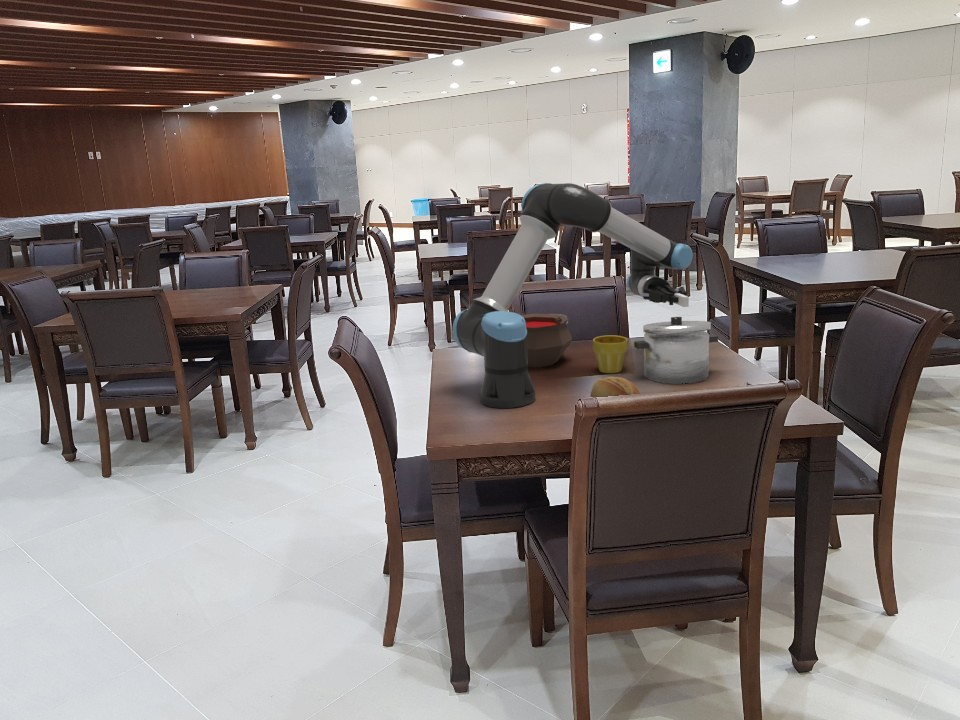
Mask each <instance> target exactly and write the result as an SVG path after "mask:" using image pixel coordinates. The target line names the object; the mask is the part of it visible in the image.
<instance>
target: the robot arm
mask: <svg viewBox="0 0 960 720" xmlns="http://www.w3.org/2000/svg"><path fill="white" fill-rule="evenodd" d="M520 206H521V209H520V210H521V215H520V217H519V221H520V224H521V225H520V227H519V229H518V231H517V232H516V234H515V236H514V238H513V240H512V241H511V243H510V245H509V246H508V249H507V251H506V252H505V254H504V256H503V258H502V259H501V261H500V263H499V265H498V266H497V268H496V269H495V272H494V273H493V275H492V278H491V279H490V281H489V282H488V284H487V287H486V288H485V290H484V291H483V293H482V295H481V296H480V297H476V298H474V299H473V300H472V302H471V304H470V305H469V307H468V308H466V309H464V310H462V311H460V312H459V313H458V314H457V315H456V316H455V318H454V320H453V323H452V335H453V339H454V341H455V343H456V344H457V345H458V346H459V347H460V348H462V349H464V350H465V351H467V352H468V353H473V354H476V355H479V356H481V357H483V362H484V377H483V379H482V382H481V387H480V391H479V402H480V403H481V404H482V405H484V406H486V407H490V408H495V409H497V408H499V409H513V408H518V407H519V408H520V407H524V406H527V405H530V404H532V403H534V402H535V400H536V397H537V396H536V389H535V387H534V384H533V380H532V379H531V376H530V373H529V369H528V368H529V367H528V358H527V329H526V322H525V319H524V318H523V317H522V316H521V315H522V314H519V313H516V312H514V313H513V312H509V310H510V309H511V306H512V305H513V303H514V301H515V299H516V297H517V296H518V294H519V291H521V289H522V286H524V283H525V281H526V279H527V277H528V276H529V274H530V272H531V270H532V269H533V266H534V265H535V263H536V262H537V260H538V257H539V256H540V254H541V252H542V250H543V248H544V247H545V245H546V243H547V241H549V240H551V239H555V237H557V235H558V233H559V231H560V229H561V227H575V228H580V229H583V230H587V231H589V232H591V233H598V232H599V233H600V234H602V235H604V236H606V237H608V238H610V239H612V240H613V241H616V242H617V243H620V244H621V245H623V246H625V247H627V248H628V249H629V250H630V274H629V275H628V277H627V279H626V285H627V288H628V290H629V291H630V292H632V293H633V294H634V295H635V296H639V297H641V298H642V299H643V300H648V301H649V302H652V303H655V304H659V303H663V304H666V303H667V302H668V305H669V306H673V305H674V304H675V305H678V306H681V307H683V308H687V307H688V308H689V302H690V301H689V300H690V298H689V296H688V292H687V291H686V289H685V287H684V286H679V287H677V289H676V288H675V287H674V286H673V287H672V286H671V285H670V284H669V282H668V281H667V280H666V279H664V278H661V277H659V276H657V275H656V267H657V268H664V269H665V268H666V269H672V270H674V271H675V270H685V269H687V268H688V267H690V265H691V263H692V260H693V257H694V256H693V250H692V248H691V247H690V246H689V245H687V244H683V243H677V242H674V241H673V240H671V239H668V238H667V237H665V236H663V235H661V233H659V232H656V231H655V230H652V229H651V228H649V227H647V226H645V225H644V224H642V223H640V222H639V221H636V220H635V219H633V218H631V217H629V216H628V215H626V214H625V213H623V212H621V211H619V210H617V209H615V208H614V207H612V204H611V202H610V201H609V200H608V199H605V198H604V197H602V196H600V195H598V194H597V193H595V192H593V191H591V190H589V189H588V188H585V187H583V186H582V185H578V184H575V183H571V182H570V183H565V182H564V183H549V182H548V183H547V182H546V183H545V182H543V183H540V184H536V185H533V186H532V187H530V188H529V189H528V190H526V192H525V193H524V195H523V197H522V200H521V203H520Z"/></svg>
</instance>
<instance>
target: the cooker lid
mask: <svg viewBox="0 0 960 720" xmlns="http://www.w3.org/2000/svg"><path fill="white" fill-rule="evenodd" d="M711 324H712V322H710V321H707V320H706V321H704V320H683V317H682V316H673V317H670V321H660V322H653V323H646V324H644V325H643V326H642V330H643V333H644V334H645V333H651V334H678V333H692V332H700V331H705V332H707V331H709V330H711V329H712V325H711Z"/></svg>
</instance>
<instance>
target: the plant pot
mask: <svg viewBox="0 0 960 720" xmlns="http://www.w3.org/2000/svg"><path fill="white" fill-rule="evenodd" d="M628 349H629V339H628V337H626V336H622V335H615V334H614V335H613V334H612V335H609V334H607V335H600V336H596V337H594V338H593V339H592V350H593V352H594V353H595V358H596V362H597V366H598V370H599V372H601V373H603V374H618V373H620V372H621V371H622V370H623V365H624V360H625V355H626V352H627V351H628Z"/></svg>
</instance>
